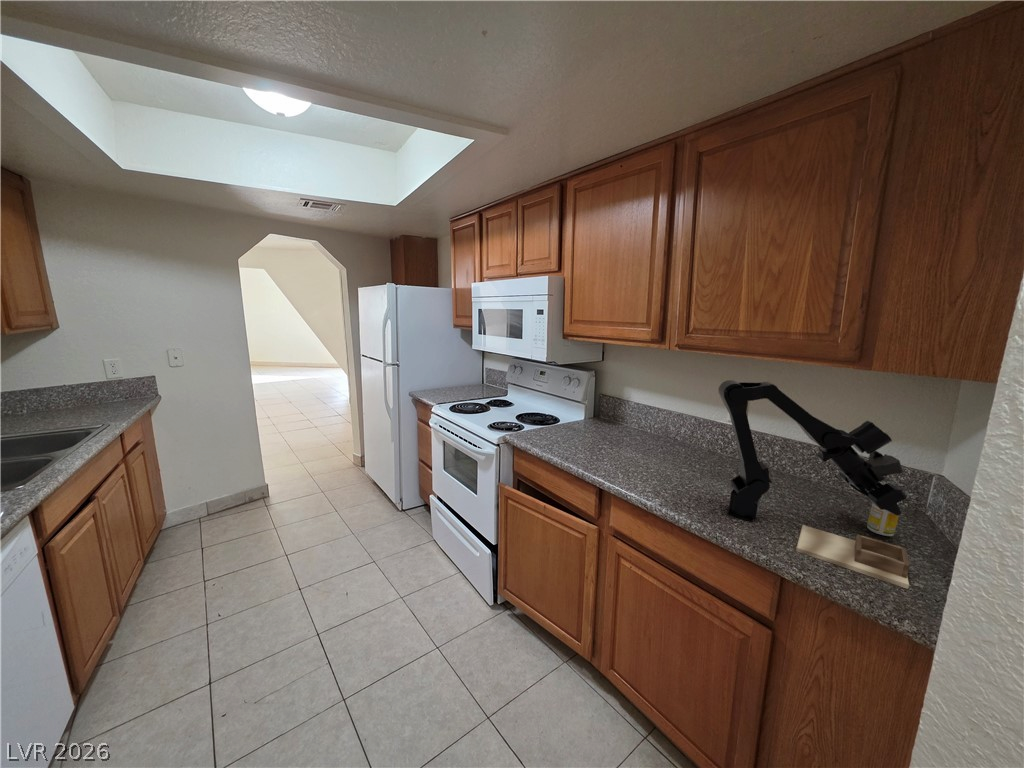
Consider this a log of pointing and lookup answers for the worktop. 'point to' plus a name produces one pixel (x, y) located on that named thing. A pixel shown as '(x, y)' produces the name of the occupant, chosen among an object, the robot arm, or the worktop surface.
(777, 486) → the worktop surface
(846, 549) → the socket board
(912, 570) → the worktop surface
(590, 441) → the worktop surface
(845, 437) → the robot arm
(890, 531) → the supplement bottle
